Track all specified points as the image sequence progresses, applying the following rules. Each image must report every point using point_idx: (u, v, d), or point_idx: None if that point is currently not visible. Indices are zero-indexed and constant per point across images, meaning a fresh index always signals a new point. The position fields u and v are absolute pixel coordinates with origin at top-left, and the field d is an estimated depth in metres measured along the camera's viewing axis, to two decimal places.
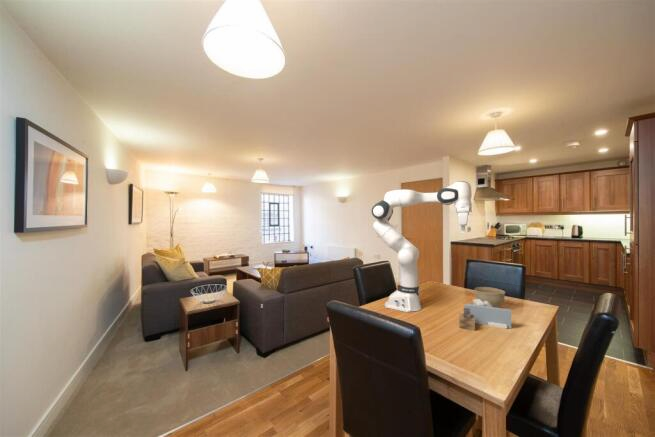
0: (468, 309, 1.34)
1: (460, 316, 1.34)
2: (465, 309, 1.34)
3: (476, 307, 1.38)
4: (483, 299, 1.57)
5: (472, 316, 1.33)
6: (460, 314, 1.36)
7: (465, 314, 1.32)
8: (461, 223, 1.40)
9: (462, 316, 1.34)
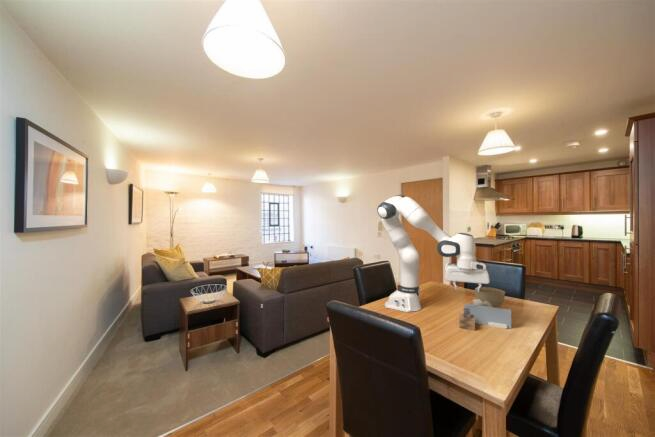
0: (468, 309, 1.34)
1: (460, 316, 1.34)
2: (465, 309, 1.34)
3: (476, 307, 1.38)
4: (483, 299, 1.57)
5: (472, 316, 1.33)
6: (460, 314, 1.36)
7: (465, 314, 1.32)
8: (489, 281, 1.28)
9: (462, 316, 1.34)
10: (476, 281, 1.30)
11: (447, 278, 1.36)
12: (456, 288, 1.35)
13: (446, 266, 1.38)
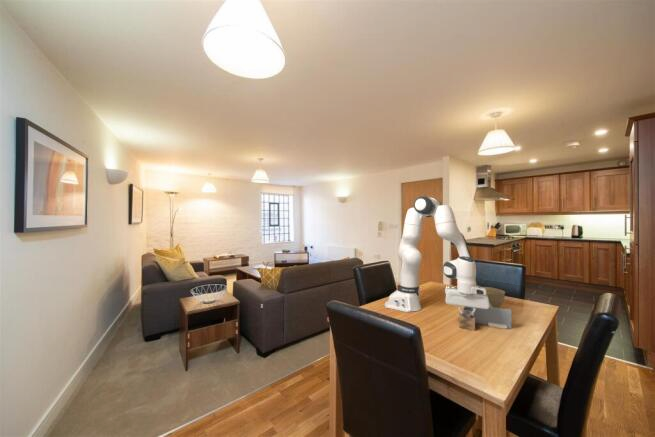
0: (468, 309, 1.34)
1: (460, 316, 1.34)
2: (465, 309, 1.34)
3: None
4: None
5: (472, 316, 1.33)
6: (460, 314, 1.36)
7: (465, 314, 1.32)
8: (489, 306, 1.28)
9: (462, 316, 1.34)
10: (476, 306, 1.30)
11: (447, 301, 1.36)
12: (461, 312, 1.34)
13: (446, 289, 1.38)
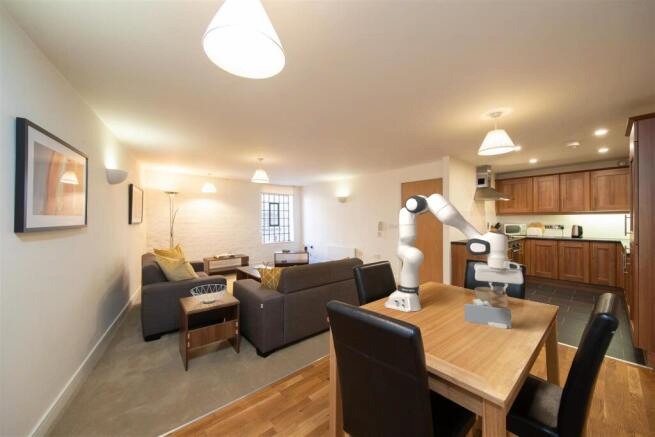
0: (499, 286, 1.29)
1: (491, 293, 1.29)
2: (496, 286, 1.29)
3: (476, 307, 1.38)
4: (483, 299, 1.57)
5: (504, 293, 1.29)
6: (491, 291, 1.32)
7: (497, 291, 1.27)
8: None
9: (493, 293, 1.29)
10: (509, 281, 1.25)
11: (477, 278, 1.31)
12: (492, 289, 1.29)
13: (476, 265, 1.33)
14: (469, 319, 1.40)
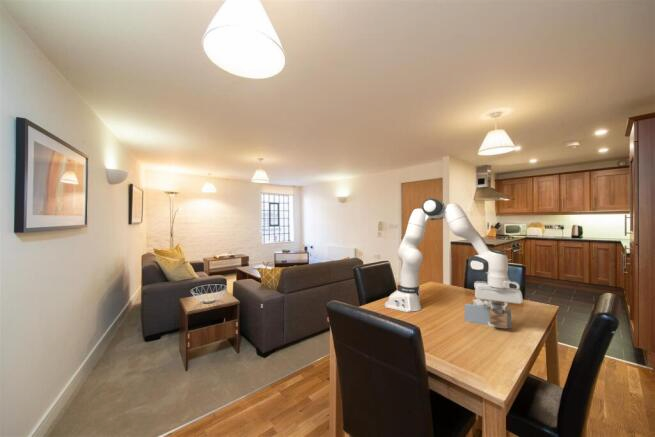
0: (499, 304, 1.30)
1: (491, 311, 1.30)
2: (496, 304, 1.30)
3: (476, 307, 1.38)
4: (483, 299, 1.57)
5: (503, 311, 1.30)
6: (490, 309, 1.33)
7: (496, 309, 1.28)
8: (522, 301, 1.25)
9: (493, 311, 1.30)
10: (508, 300, 1.26)
11: (477, 296, 1.33)
12: (492, 307, 1.30)
13: (476, 283, 1.34)
14: (469, 319, 1.40)
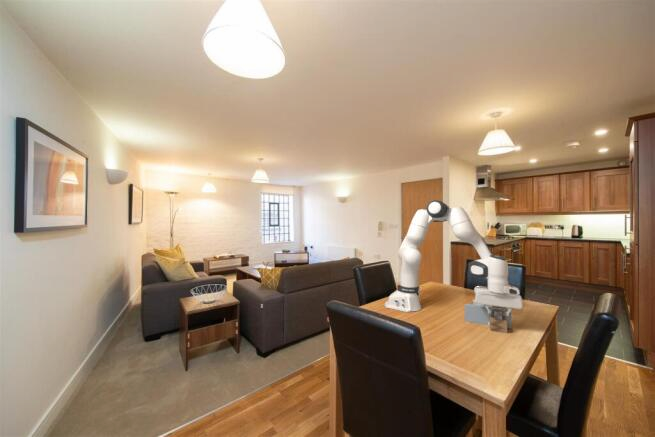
0: (499, 311, 1.31)
1: (491, 318, 1.30)
2: (496, 311, 1.31)
3: (476, 307, 1.38)
4: None
5: (503, 318, 1.30)
6: (490, 316, 1.33)
7: (496, 316, 1.29)
8: (522, 306, 1.25)
9: (493, 318, 1.30)
10: (508, 306, 1.26)
11: (477, 301, 1.33)
12: (489, 312, 1.31)
13: (476, 289, 1.34)
14: (469, 319, 1.40)
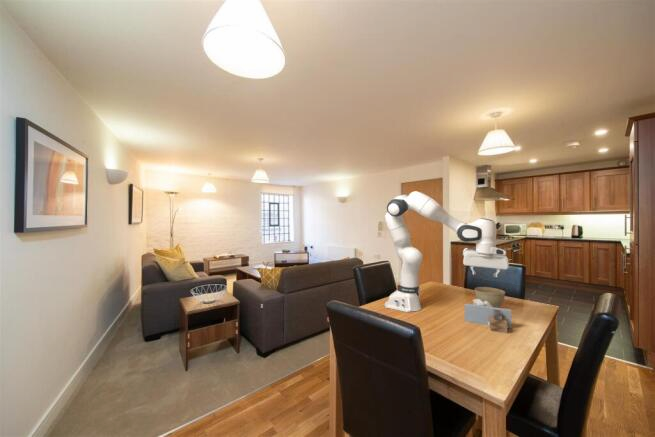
0: (499, 311, 1.31)
1: (491, 318, 1.30)
2: (496, 311, 1.31)
3: (476, 307, 1.38)
4: (483, 299, 1.57)
5: (503, 318, 1.30)
6: (490, 316, 1.33)
7: (496, 316, 1.29)
8: None
9: (493, 318, 1.30)
10: (495, 266, 1.30)
11: (465, 263, 1.36)
12: (473, 273, 1.35)
13: (464, 251, 1.38)
14: (469, 319, 1.40)
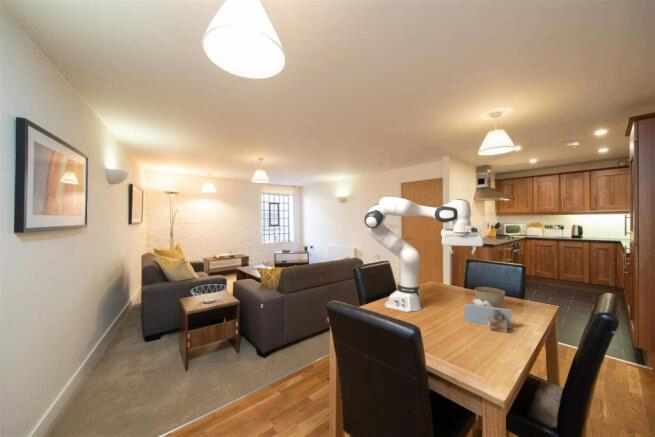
0: (499, 311, 1.31)
1: (491, 318, 1.30)
2: (496, 311, 1.31)
3: (476, 307, 1.38)
4: (483, 299, 1.57)
5: (503, 318, 1.30)
6: (490, 316, 1.33)
7: (496, 316, 1.29)
8: (483, 244, 1.34)
9: (493, 318, 1.30)
10: (471, 244, 1.36)
11: (443, 243, 1.42)
12: (452, 252, 1.41)
13: (442, 231, 1.44)
14: (469, 319, 1.40)
